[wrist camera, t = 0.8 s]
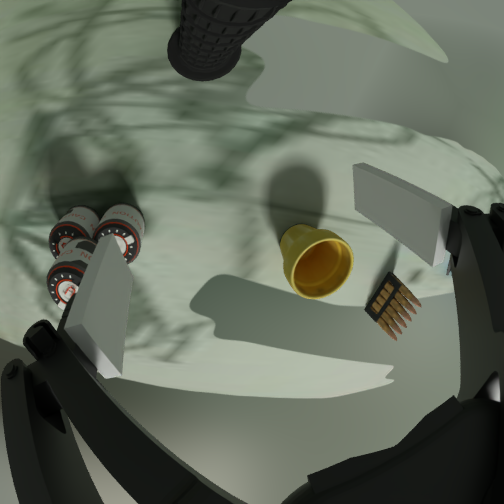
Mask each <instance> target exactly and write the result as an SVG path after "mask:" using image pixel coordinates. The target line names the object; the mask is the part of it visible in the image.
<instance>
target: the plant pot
mask: <svg viewBox="0 0 504 504" xmlns="http://www.w3.org/2000/svg"><path fill="white" fill-rule="evenodd" d="M280 249H281V253H282V256H283V259H284V263H283V269H284V274H285V277H286V279H287V280H288V282H289V284H290V285H291V287H292V288H293V290H294V291H295V292H296V293H297V294H298V295H300V296H302V297H304V298H308V299H320V298H324V297H326V296H329V295H331V294H332V293H334V292H336V291H337V290H338V289H339V288H340V287H341V286H342V285H343V284H344V283H345V282H346V280H347V279H348V277H349V275H350V273H351V271H352V268H353V262H354V257H353V252H352V250H351V248H350V246H349V245H348V244H347V243H346V242H345V241H344V240H343V239H342V238H341V237H339V236H338V235H337V234H335V233H333V232H332V231H329V230H325V229H316V228H313V227H311V226H308V225H305V224H299V225H295V226H293V227H291V228H289V229H288V230H287V231H286V232H285V233H284V235H283V236H282V239H281V242H280Z"/></svg>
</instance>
